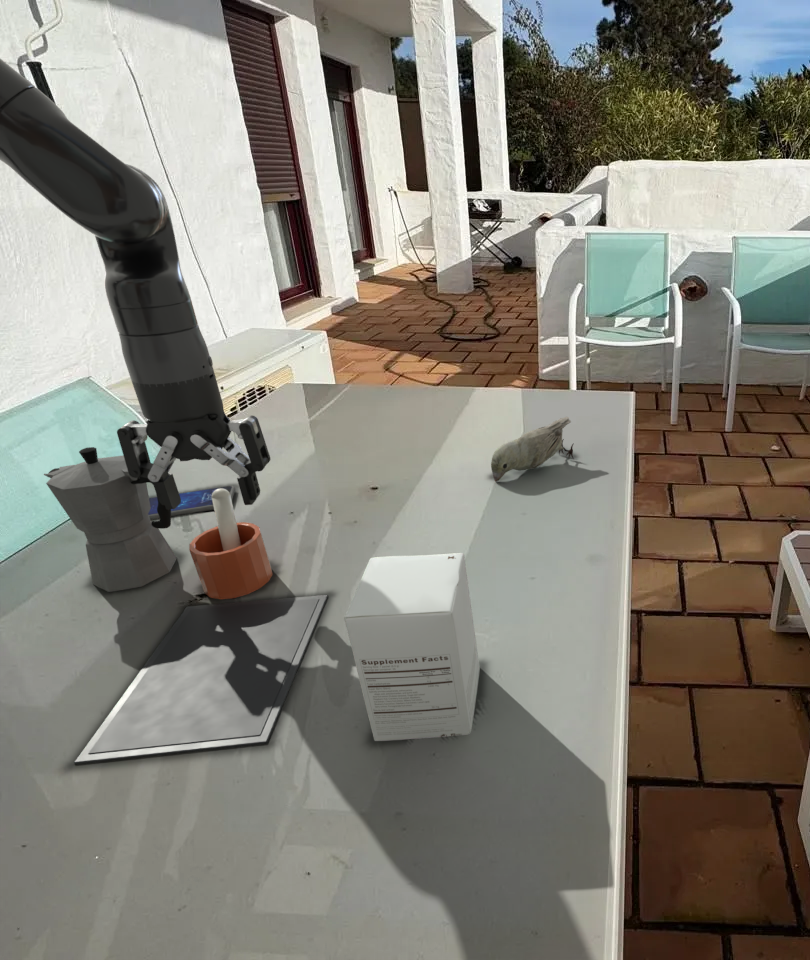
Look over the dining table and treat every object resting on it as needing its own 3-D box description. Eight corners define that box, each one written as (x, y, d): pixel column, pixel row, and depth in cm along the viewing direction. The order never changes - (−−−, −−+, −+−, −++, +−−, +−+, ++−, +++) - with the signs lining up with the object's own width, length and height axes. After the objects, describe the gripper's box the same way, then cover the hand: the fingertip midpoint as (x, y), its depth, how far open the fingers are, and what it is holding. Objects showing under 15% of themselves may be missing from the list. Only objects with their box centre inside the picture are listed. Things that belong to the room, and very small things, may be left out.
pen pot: (195, 606, 76) (177, 557, 73) (220, 570, 83) (205, 524, 80) (261, 601, 77) (247, 552, 74) (281, 566, 84) (268, 520, 81)
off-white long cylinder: (227, 585, 79) (206, 490, 77) (235, 580, 81) (214, 488, 79) (244, 583, 79) (224, 488, 77) (251, 578, 81) (231, 486, 79)
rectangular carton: (394, 676, 65) (368, 554, 59) (481, 671, 66) (466, 549, 59) (372, 748, 57) (339, 616, 51) (472, 742, 58) (453, 610, 51)
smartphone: (128, 500, 99) (235, 483, 103) (130, 505, 99) (236, 489, 104) (114, 521, 92) (228, 503, 97) (116, 527, 93) (230, 508, 98)
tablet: (77, 770, 55) (72, 761, 55) (189, 613, 75) (186, 605, 75) (269, 749, 57) (266, 740, 57) (329, 601, 77) (327, 593, 76)
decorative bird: (485, 477, 107) (481, 436, 104) (560, 451, 117) (558, 413, 113) (503, 487, 103) (499, 446, 100) (578, 460, 113) (578, 421, 110)
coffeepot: (60, 595, 78) (-3, 463, 70) (118, 553, 87) (68, 431, 79) (177, 601, 77) (126, 467, 69) (225, 558, 86) (184, 434, 77)
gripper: (78, 384, 63) (131, 524, 71) (229, 378, 65) (266, 515, 72) (119, 363, 70) (163, 493, 77) (255, 358, 72) (286, 486, 79)
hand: (213, 504), depth 75 cm, fingers open, 8 cm apart
